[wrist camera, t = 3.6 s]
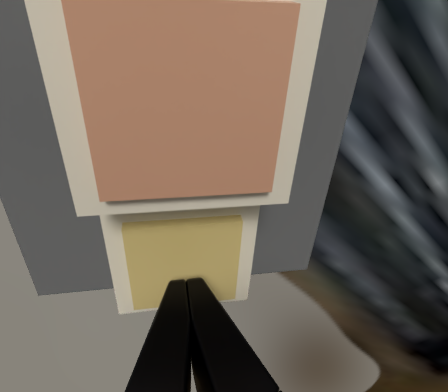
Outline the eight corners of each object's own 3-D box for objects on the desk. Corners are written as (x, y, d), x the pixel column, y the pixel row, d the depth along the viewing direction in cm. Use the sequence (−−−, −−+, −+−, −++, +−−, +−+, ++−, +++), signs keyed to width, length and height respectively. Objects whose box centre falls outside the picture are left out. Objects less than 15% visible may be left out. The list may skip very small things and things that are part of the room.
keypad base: (428, -424, 6) (525, -562, 5) (290, 236, 15) (307, 269, 14) (-229, -615, 5) (-442, -936, 3) (52, 255, 13) (38, 295, 12)
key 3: (235, 142, 11) (264, 204, 8) (228, 233, 14) (249, 307, 11) (111, 145, 11) (96, 215, 8) (125, 241, 13) (118, 322, 10)
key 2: (266, -39, 7) (345, -41, 4) (249, 135, 9) (293, 212, 7) (67, -52, 7) (-1, -63, 4) (100, 139, 9) (74, 227, 6)
